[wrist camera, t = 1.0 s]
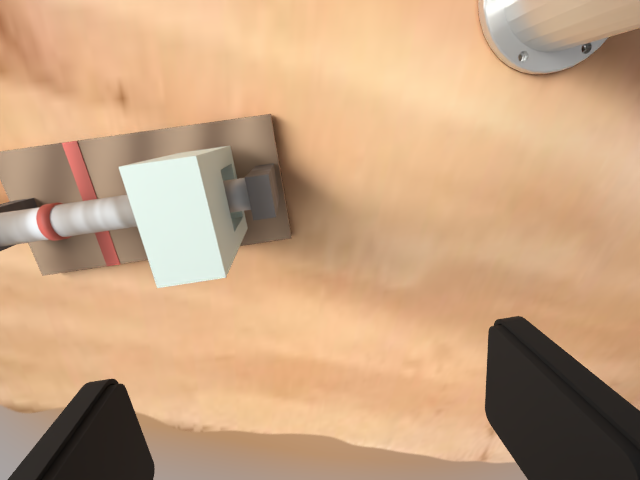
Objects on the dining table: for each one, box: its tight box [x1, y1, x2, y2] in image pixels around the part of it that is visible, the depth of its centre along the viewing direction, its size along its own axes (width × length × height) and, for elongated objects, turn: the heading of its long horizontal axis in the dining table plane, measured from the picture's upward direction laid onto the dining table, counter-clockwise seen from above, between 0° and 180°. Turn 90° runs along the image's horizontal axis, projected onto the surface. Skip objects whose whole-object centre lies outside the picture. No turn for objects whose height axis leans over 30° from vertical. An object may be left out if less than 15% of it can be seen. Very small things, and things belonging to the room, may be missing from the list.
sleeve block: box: [119, 146, 248, 288], centre depth 23 cm, size 4×7×10 cm, turn 8°
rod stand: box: [0, 114, 291, 276], centre depth 27 cm, size 23×11×8 cm, turn 98°
